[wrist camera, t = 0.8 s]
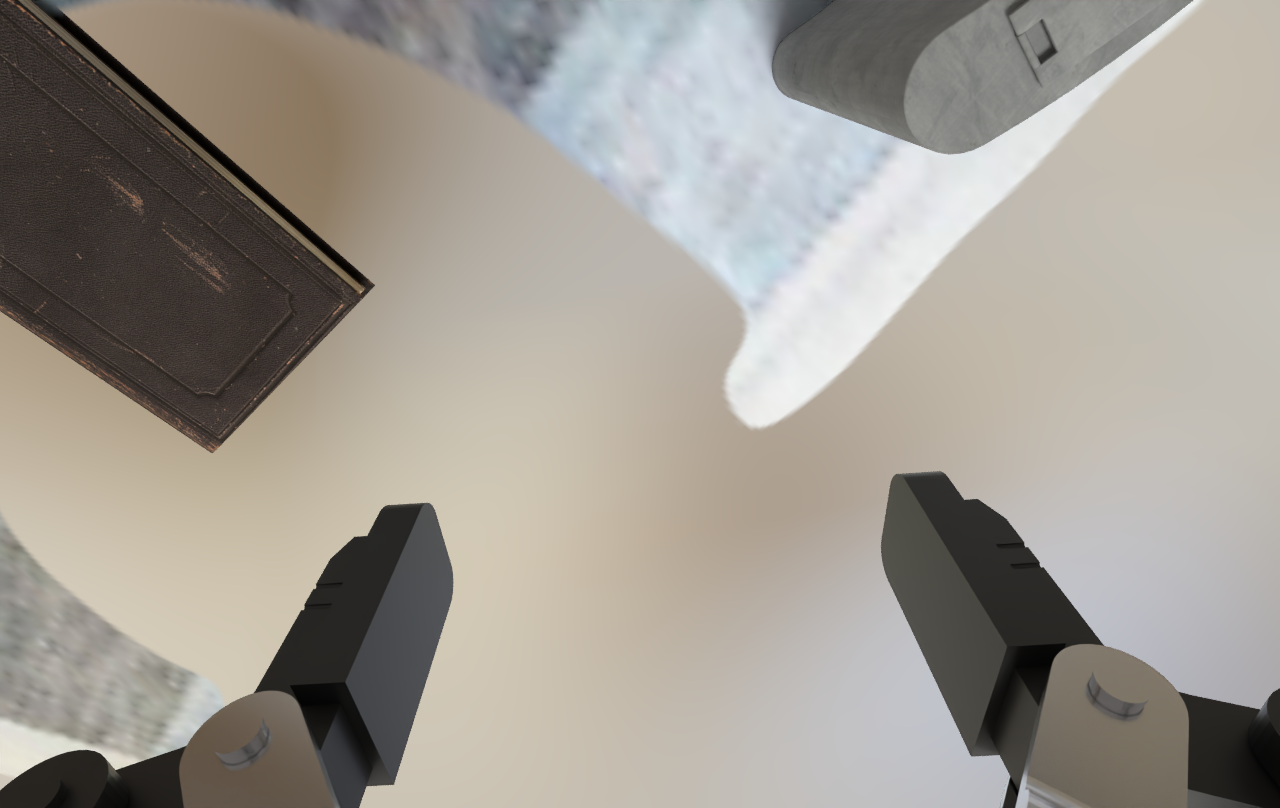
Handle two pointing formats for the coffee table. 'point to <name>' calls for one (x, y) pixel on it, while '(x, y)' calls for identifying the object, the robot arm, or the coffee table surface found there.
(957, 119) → the hip flask
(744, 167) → the coffee table surface
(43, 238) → the hardcover book
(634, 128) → the coffee table surface
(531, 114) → the coffee table surface
